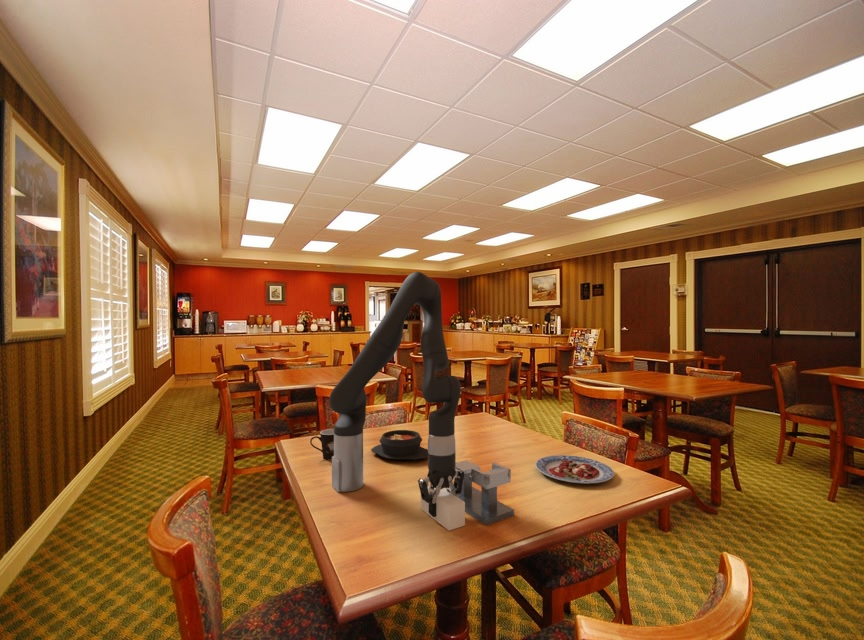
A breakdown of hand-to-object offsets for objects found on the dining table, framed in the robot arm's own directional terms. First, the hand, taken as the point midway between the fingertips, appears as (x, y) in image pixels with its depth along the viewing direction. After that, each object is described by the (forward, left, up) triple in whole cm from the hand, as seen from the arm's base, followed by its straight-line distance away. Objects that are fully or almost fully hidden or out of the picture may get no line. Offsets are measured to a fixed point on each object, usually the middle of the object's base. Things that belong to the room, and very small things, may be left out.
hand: (441, 512), depth 106 cm
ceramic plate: (+56, +1, -2) cm, 56 cm away
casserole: (+14, +50, -1) cm, 52 cm away
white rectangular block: (0, 0, -1) cm, 1 cm away
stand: (+12, 0, -1) cm, 12 cm away
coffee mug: (-11, +64, -1) cm, 65 cm away
